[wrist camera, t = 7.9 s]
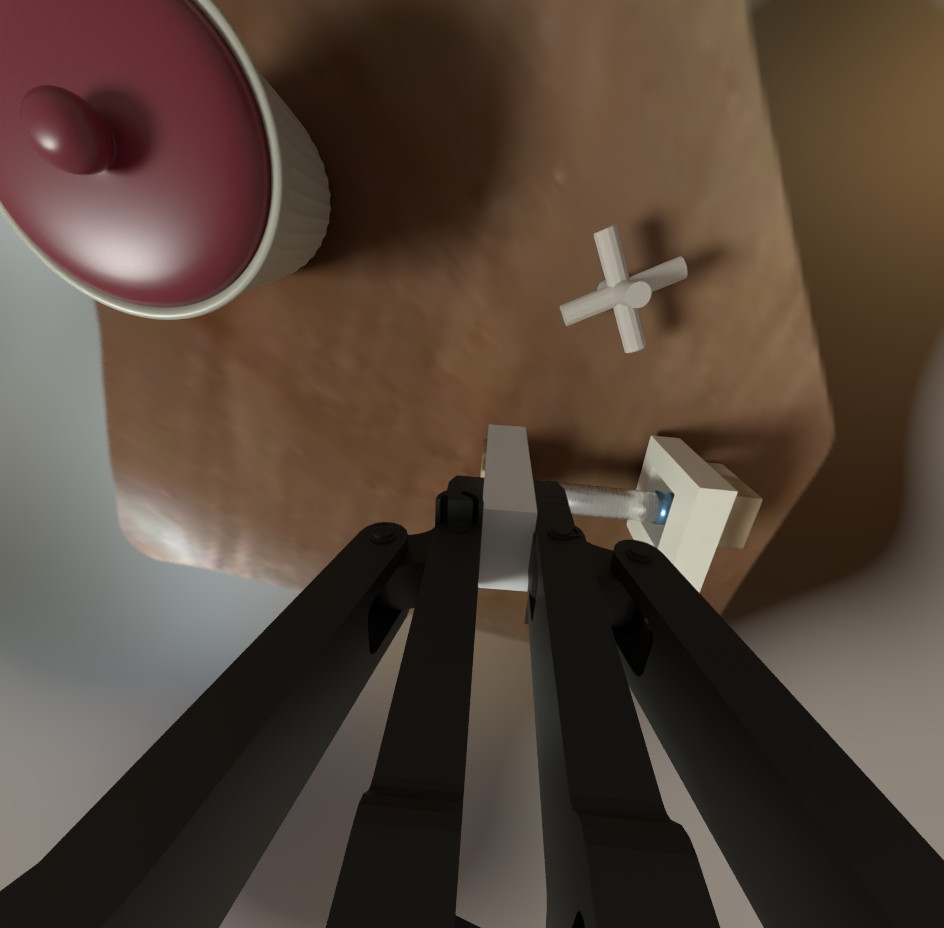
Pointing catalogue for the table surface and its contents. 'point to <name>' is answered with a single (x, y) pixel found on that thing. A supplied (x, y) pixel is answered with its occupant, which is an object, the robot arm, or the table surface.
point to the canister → (151, 155)
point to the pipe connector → (622, 289)
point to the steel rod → (619, 503)
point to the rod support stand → (739, 514)
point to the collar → (684, 506)
